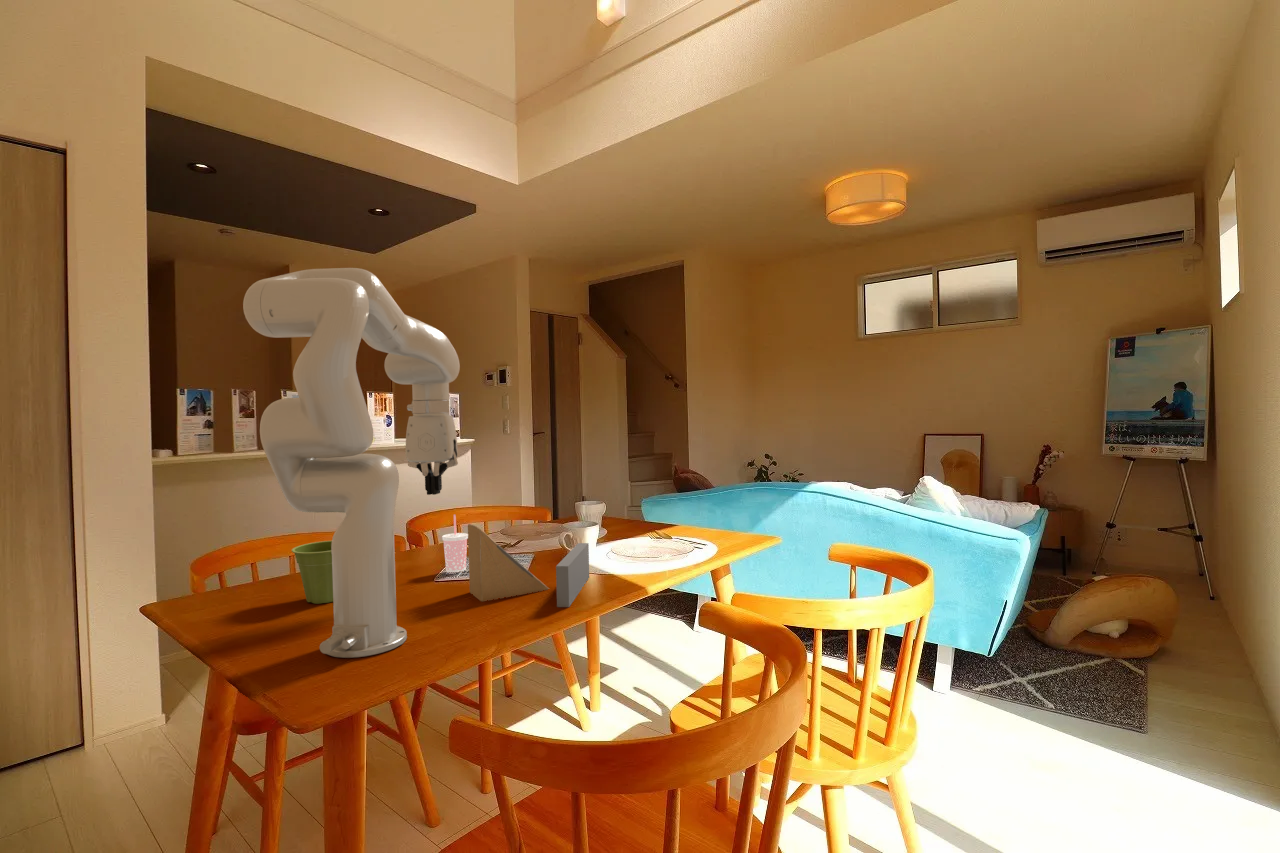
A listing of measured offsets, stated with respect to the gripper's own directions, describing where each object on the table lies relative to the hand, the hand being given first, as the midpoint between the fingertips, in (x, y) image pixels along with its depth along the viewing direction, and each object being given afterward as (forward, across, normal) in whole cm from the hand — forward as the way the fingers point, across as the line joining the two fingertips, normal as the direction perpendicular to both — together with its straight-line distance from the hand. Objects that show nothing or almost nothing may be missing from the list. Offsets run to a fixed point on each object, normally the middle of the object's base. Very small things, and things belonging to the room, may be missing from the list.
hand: (433, 493), depth 135 cm
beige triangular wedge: (+22, +16, 0) cm, 27 cm away
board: (+21, +30, 0) cm, 37 cm away
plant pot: (+21, -21, -7) cm, 31 cm away
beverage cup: (+21, -2, +16) cm, 27 cm away
